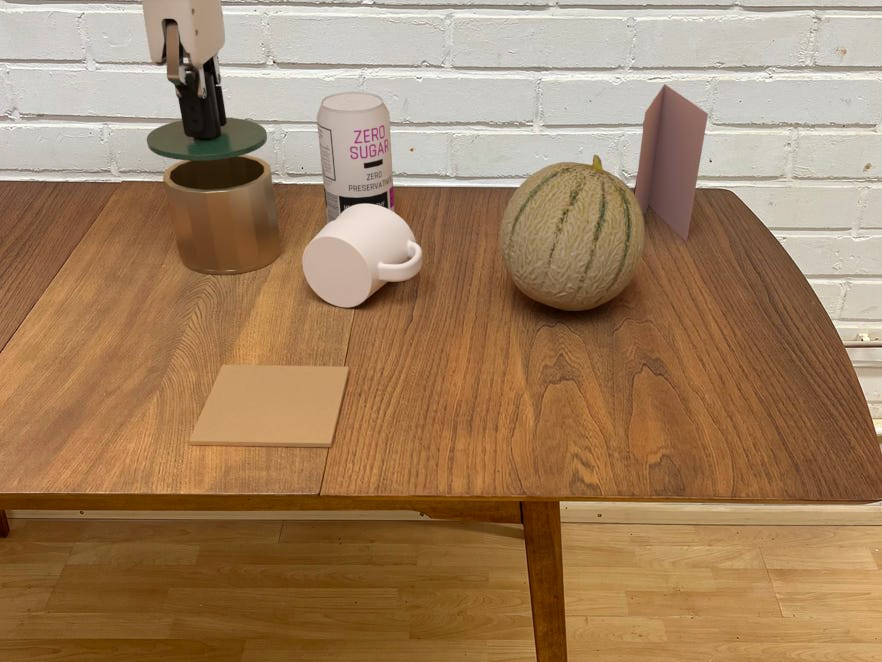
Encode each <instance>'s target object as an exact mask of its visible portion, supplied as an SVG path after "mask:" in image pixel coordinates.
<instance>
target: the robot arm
mask: <svg viewBox="0 0 882 662" xmlns="http://www.w3.org/2000/svg"><path fill="white" fill-rule="evenodd" d="M141 5H142V11H143V20H144V26H145V32H146V38H147V45H148V51H149V57H150V60H151V62H152V63H153V64H154V65H155V66H157V67H162V66H164V65H166V79H167V80H168V82H169V83H172V84H173V85H174V90H175V95H176V97H177V100H178V104H179V110H180V116H181V120H182V122H183V128H184V133H185V135H186V136H187V137H202V138H213V137H214V136H215V135H216V129H215V122H214V116H213V110H212V104H211V97H210V96H206V87H205V79H204V72H209V73H211V74H212V75H213V81H214V88H215V94H216V101H217V107H218V113H219V120H220V126H225V124H226V123H227V120H226V117H227V113H226V108H225V101H224V94H223V87H222V85H221V84H222V76H221V70H220V65H219V63H220V61H219V58H220V57H219V52H220V51H221V50H222V48H224V45H225V42H226V31H225V21H224V13H223V7H222V0H141ZM184 59H187V62H184ZM188 72H195V79H196V81H195V79H194V77H193V76H192V74H187V73H188Z"/></svg>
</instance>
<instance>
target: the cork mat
mask: <svg viewBox="0 0 882 662" xmlns="http://www.w3.org/2000/svg"><path fill="white" fill-rule="evenodd" d="M349 375H350V366H339V365H338V366H337V365H336V366H335V365H333V366H332V365H331V366H329V365H327V366H326V365H280V364H279V365H275V364H274V365H273V364H272V365H270V364H222V365H221V367H220V369H219V372H218V374H217V377H216V379H215V381H214V383H213V385H212V388H211V390H210V392H209V394H208V397H207V398H206V401H205V403H204V405H203V408H202V410H201V413H200V415H199V417H198V419H197V422H196V424H195V426H194V428H193V430H192V432H191V435H190V437H189V439H188V442H189V443H188V444H189V446H214V447H215V446H216V447H217V446H219V447H220V446H221V447H222V446H226V447H274V448H275V447H276V448H277V447H279V448H280V447H281V448H332V447H333V443H334V438H335V434H336V430H337V425H338V420H339V418H340V412H341V408H342V404H343V400H344V395H345V393H346V392H345V391H346V387H347V383H348V380H349V379H348V378H349Z"/></svg>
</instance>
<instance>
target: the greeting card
mask: <svg viewBox="0 0 882 662" xmlns="http://www.w3.org/2000/svg"><path fill="white" fill-rule="evenodd" d="M708 116H709V113H707V111H705V110H704V109H702V108H700V107H699V106H698V105H697V104H695V103H694V102H691V100H689V99H688V98H686V97H684V96H683V95H682V94H681V93H678V92H677V91H676V90H674V89H673V88H671V87H670V86H668V85H667V84H665V83H664V84H663V85H662V87H661V89H660V90H659V91H658V93H657V94H656V96H655V97H654V98H653V100H652V102H651V103H650V104H649V106H648V107H647V109H646V110H645V113H644V118H643V121H642V135H641V142H640V150H639V158H638V167H637V173H636V178H635V183H634V189H633V193H634V195H635V197H636V198H637V200H638V202H639V204H640V207H641V210H642V213H643V214H644V215H645V213H646V211H647V210H648V207H649V206H650V207H651V208H652V209H653V210H652V209H651V208H650V207H649V208H650V209H651V210H652V211H653V212H654V213H655V212H656V213H655V214H657V216H658V215H659V216H660V217H659V216H658V217H659V218H660V219H661V220H662V221H663V222H664V223H666V225H668V227H670V228H671V229H672V230H673V231H674V232H675V233H676V234H677V235H678V236H679V237H680V238H681V239H682V240H683V241H685V243H687V242H688V236H689V229H690V223H691V218H692V211H693V207H694V206H693V205H694V200H695V195H696V188H697V182H698V176H699V171H700V164H701V159H702V153H703V147H704V141H705V134H706V129H707V124H708V123H707V122H708V118H709V117H708ZM648 205H649V206H648Z"/></svg>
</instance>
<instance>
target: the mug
mask: <svg viewBox="0 0 882 662" xmlns="http://www.w3.org/2000/svg"><path fill="white" fill-rule="evenodd" d="M394 212H395V211H394ZM394 212H393V211H391V210H389V209H387V208H385V207H382V206H379V205H375V204H357V205H353V206H351V207H349V208H347V209H345V210H344V211H343V212H342V213H341V214H340V215H339V216H338V217H337V218H336V220H334V221H331V222H329V223H327V224H325V226H323V228H322V229H321V230H319V232H318V233H317V234H316V235H315V237H313V239H312V240H311V241H309V243H308V244H307V245H306V247H305V249H304V251H303V253H302V259H301V264H302V265H301V266H302V271H303V276H304V277H305V279H306V282H307V283H308V285H309V287H310V288H311V289H312V291H313V292H314V293H315V294H316V295H317V296H318V297H320V298H321V299H322V300H324V301H325V302H326V303H329V304H331V305H332V306H334V307H335V306H336V307H340V308H353V307H358V306H359V305H361V304H363V303H364V302H365V301H366V300H367V299H368V298H370V297H371V296H372V295H373V294H374V293H376V292H377V291H378V290H380V289H381V288H382V287H383V286H385V285H386V284H387V283H388V282H389V283H390V282H393V283H400V282H401V283H402V282H406V281H408V280H410V279H412V278H414V277H415V276H417V275H418V274H419V273H420V271H421V269H422V266H423V249H422V247H421V246H420V245H419V244H418V243H417V241H416V238H415V235H414V232H413V231H412V230H411V228H410V225H408V223H407V222H406V221H405V220H404V219H403V218H402V217H401V216H400V215H398V213H396V212H395V213H394Z"/></svg>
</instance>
